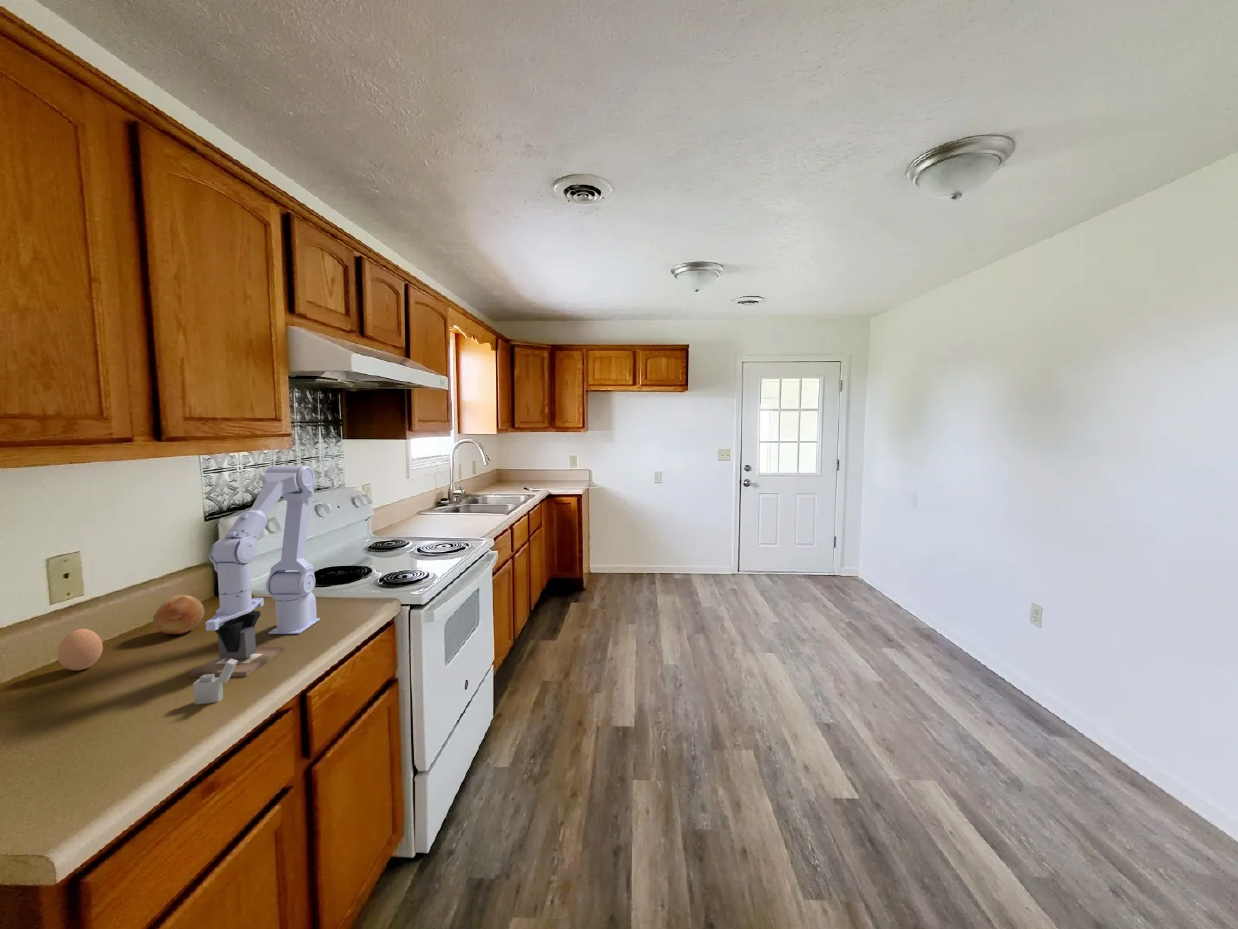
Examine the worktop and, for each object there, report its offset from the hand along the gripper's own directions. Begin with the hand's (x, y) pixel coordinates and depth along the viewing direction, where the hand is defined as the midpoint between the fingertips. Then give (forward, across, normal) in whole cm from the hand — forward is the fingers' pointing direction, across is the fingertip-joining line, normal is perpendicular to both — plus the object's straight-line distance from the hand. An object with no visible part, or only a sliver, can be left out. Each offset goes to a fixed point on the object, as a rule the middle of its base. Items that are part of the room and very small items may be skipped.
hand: (238, 648), depth 109 cm
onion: (+4, -17, -28) cm, 33 cm away
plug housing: (+2, 0, 0) cm, 2 cm away
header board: (+4, 0, 0) cm, 4 cm away
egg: (+4, +2, -33) cm, 33 cm away
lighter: (+4, +15, +7) cm, 17 cm away
